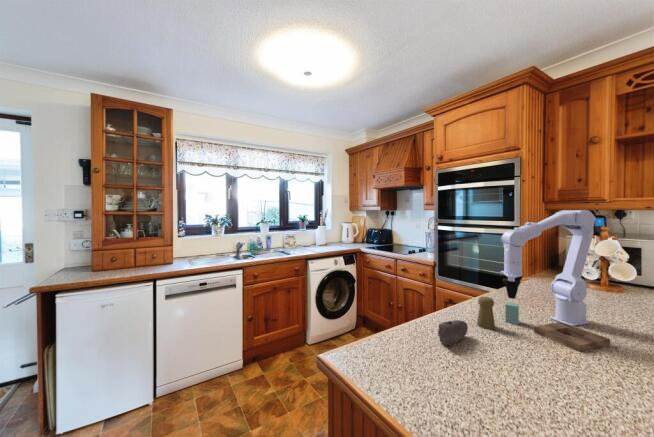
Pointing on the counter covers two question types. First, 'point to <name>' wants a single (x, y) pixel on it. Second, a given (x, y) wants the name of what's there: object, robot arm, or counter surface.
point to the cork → (486, 313)
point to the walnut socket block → (579, 343)
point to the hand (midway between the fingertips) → (512, 295)
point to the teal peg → (512, 313)
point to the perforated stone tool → (452, 331)
